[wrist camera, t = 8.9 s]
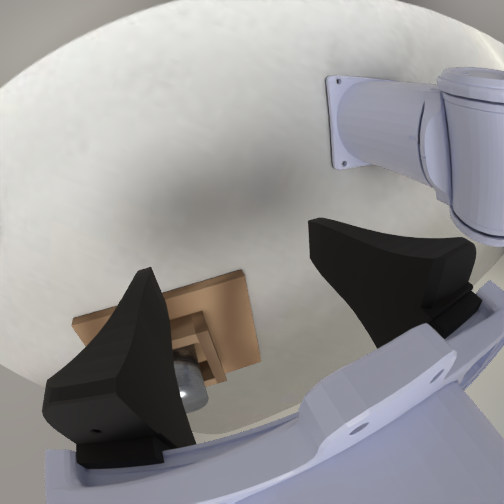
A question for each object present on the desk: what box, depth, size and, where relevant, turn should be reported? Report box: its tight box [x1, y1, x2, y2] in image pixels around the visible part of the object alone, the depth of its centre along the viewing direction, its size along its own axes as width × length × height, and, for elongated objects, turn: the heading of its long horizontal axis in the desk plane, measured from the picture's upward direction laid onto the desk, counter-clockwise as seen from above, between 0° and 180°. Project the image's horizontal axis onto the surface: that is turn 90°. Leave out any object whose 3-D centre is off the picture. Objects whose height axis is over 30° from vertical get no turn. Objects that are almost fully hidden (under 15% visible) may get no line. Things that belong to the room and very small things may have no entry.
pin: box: [173, 344, 208, 413], centre depth 22 cm, size 4×4×6 cm
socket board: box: [71, 270, 261, 387], centre depth 23 cm, size 16×12×4 cm
